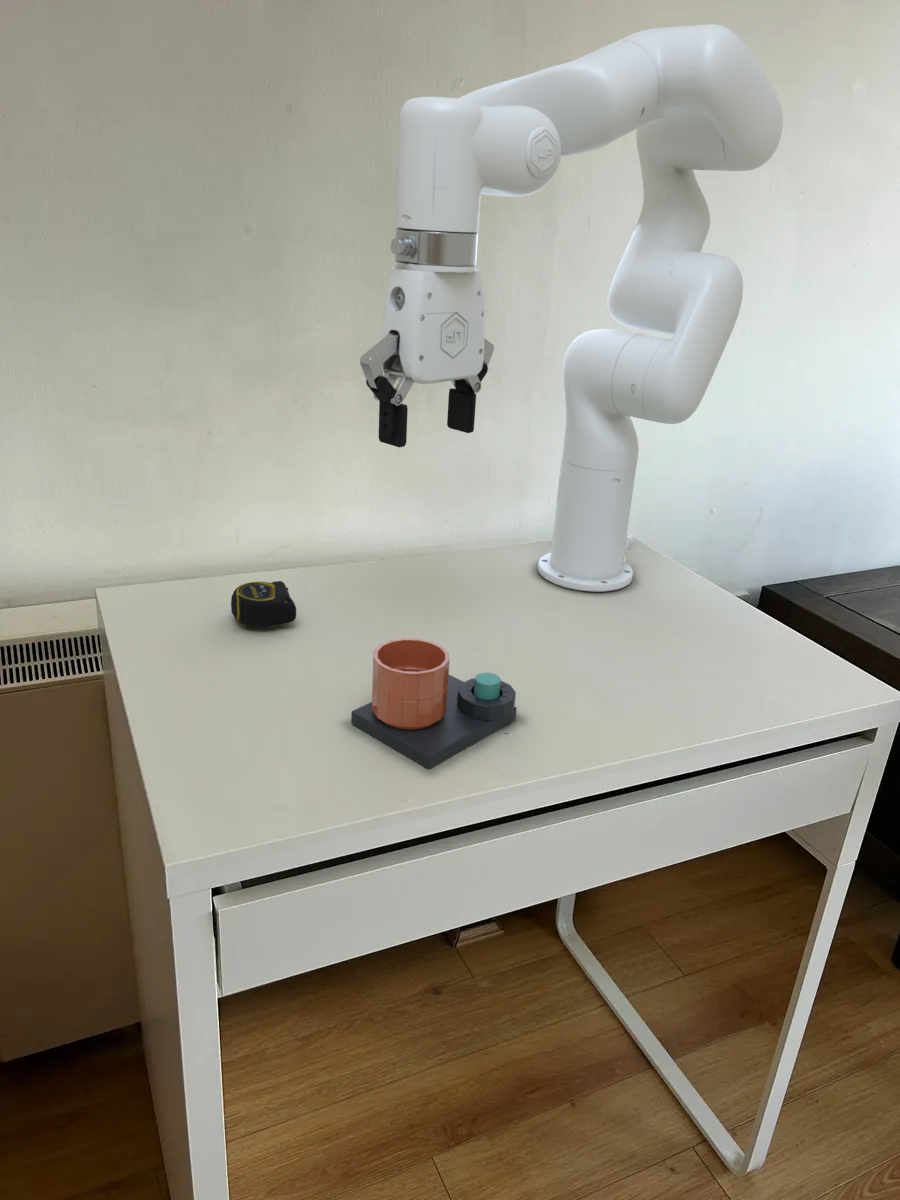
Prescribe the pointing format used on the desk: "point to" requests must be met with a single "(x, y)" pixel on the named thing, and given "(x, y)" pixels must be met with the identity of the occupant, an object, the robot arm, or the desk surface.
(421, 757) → the scale
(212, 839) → the desk surface
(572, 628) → the desk surface
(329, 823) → the desk surface
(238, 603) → the tape measure
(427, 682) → the terracotta cylindrical cup
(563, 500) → the robot arm
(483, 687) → the button
